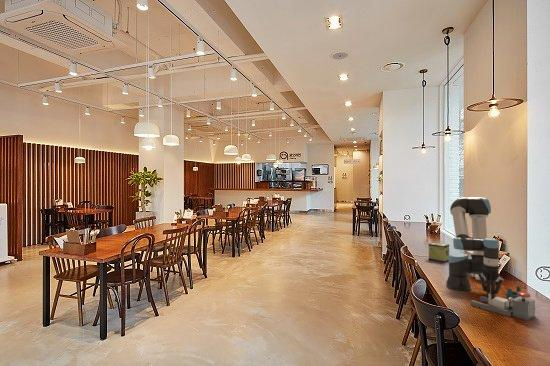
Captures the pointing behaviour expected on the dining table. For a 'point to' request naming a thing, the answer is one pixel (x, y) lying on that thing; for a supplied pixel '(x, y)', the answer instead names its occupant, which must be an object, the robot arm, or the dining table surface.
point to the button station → (522, 306)
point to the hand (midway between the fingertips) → (490, 304)
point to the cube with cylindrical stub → (500, 302)
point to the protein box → (439, 252)
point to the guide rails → (489, 307)
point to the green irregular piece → (512, 292)
